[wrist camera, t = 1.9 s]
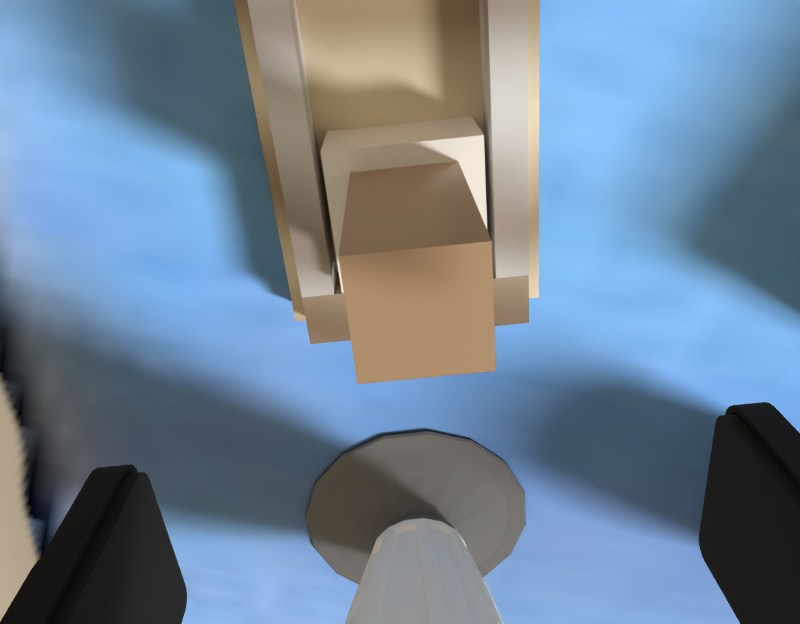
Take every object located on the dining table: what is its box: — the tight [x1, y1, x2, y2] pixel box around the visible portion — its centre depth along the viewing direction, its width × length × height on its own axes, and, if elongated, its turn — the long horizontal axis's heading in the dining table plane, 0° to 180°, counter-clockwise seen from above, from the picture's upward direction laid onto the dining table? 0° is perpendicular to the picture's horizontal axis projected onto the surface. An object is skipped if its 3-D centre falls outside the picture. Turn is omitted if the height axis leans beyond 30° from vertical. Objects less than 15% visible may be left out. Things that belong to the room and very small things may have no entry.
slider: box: [320, 116, 496, 384], centre depth 20 cm, size 5×5×10 cm
